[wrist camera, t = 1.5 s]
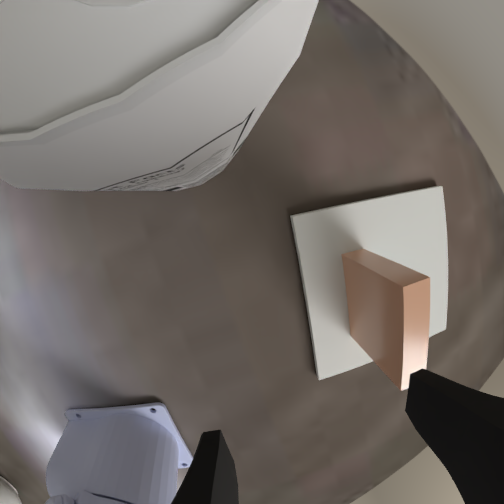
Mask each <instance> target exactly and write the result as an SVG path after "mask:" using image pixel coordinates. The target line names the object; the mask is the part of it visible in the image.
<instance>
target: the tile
mask: <svg viewBox="0 0 504 504" xmlns="http://www.w3.org/2000/svg"><path fill="white" fill-rule="evenodd" d="M341 255H342V262H343V270H344V278H345V286H346V295H347V304H348V314H349V325H350V336H351V337H352V338H353V339H354V340H355V341H356V342H357V343H358V345H359V346H360V347H361V348H362V349H363V350H364V351H365V352H366V353H367V354H368V355H369V357H370V358H371V359H372V360H373V361H374V362H375V363H376V364H377V365H378V366H379V367H380V369H381V370H382V371H383V372H384V373H385V374H386V375H387V376H388V377H389V378H390V380H391V381H392V382H393V383H394V384H395V385H396V386H397V387H398V388H399V389H400V391H402V390H404V389H406V388H408V387H409V379H410V374H411V373H414V372H416V371H418V370H420V369H422V368H423V369H426V364H427V354H428V341H429V324H430V277H428V276H426V275H424V274H422V273H419V272H417V271H415V270H413V269H410V268H408V267H406V266H403V265H401V264H399V263H396V262H394V261H392V260H389V259H387V258H385V257H382V256H380V255H378V254H375V253H373V252H370V251H368V250H366V249H360V250H356V251H352V252H348V253H344V254H341Z"/></svg>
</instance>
